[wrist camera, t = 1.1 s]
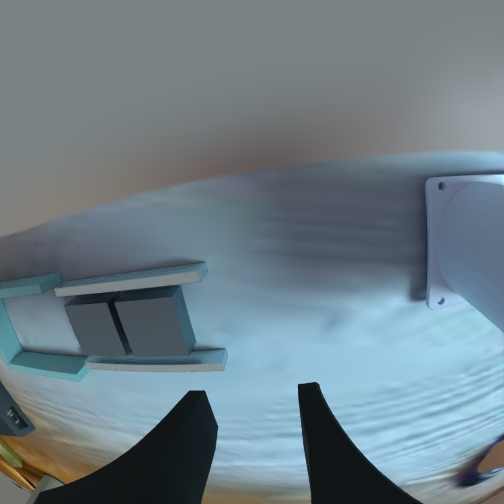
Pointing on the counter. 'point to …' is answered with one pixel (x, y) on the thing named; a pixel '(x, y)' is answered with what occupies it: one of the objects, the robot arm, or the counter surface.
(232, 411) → the counter surface
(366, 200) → the counter surface
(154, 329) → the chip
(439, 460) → the counter surface
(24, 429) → the external hard drive
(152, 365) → the slot guide
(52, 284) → the tray
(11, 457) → the saucer
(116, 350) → the block
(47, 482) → the travel mug
